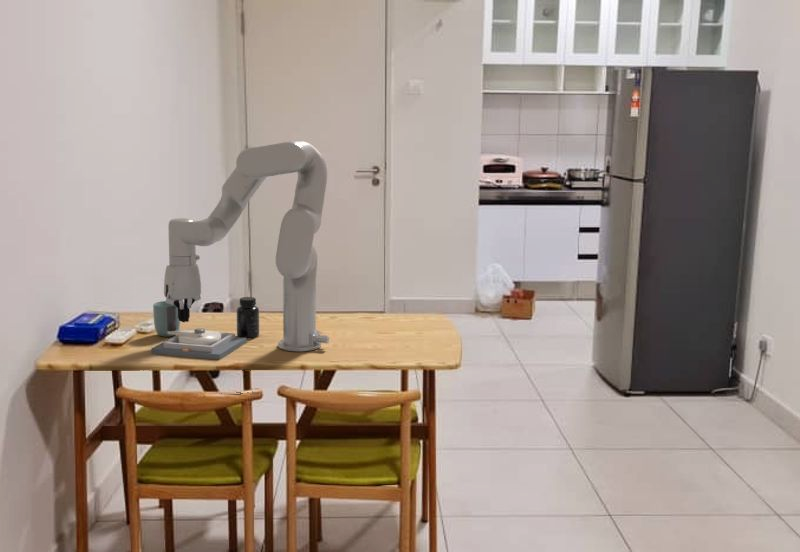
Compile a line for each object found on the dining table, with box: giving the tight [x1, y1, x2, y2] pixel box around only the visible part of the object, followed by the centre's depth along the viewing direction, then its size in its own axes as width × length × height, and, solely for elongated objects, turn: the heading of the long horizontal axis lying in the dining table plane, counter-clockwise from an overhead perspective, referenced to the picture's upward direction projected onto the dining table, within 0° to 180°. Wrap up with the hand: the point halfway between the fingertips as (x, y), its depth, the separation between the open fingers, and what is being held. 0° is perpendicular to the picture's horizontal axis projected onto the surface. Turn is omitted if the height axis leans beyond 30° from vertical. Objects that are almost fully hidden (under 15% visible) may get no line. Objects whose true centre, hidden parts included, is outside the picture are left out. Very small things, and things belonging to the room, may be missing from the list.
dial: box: [166, 306, 221, 346], centre depth 227 cm, size 16×12×10 cm
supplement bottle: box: [236, 296, 260, 340], centre depth 240 cm, size 7×7×12 cm
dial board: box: [150, 329, 247, 360], centre depth 227 cm, size 21×18×3 cm
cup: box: [152, 300, 181, 337], centre depth 239 cm, size 8×8×10 cm
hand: (183, 321), depth 233 cm, fingers closed
